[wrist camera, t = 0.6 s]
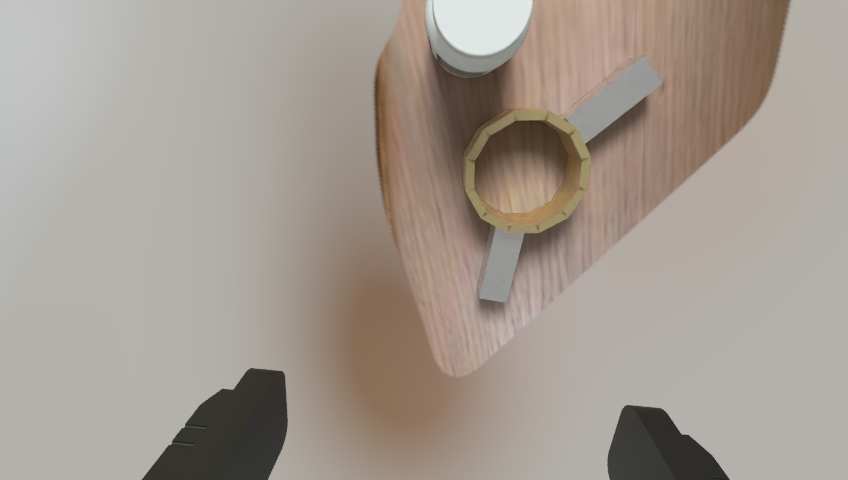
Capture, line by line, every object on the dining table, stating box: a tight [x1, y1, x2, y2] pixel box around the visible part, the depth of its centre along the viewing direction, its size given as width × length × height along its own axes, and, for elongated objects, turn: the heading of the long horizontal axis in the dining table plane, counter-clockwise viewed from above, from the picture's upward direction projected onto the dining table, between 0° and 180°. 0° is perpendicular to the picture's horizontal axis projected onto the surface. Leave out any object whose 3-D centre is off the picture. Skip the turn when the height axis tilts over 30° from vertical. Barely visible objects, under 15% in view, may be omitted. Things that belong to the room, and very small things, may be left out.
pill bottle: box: [425, 0, 533, 78], centre depth 23 cm, size 6×6×10 cm
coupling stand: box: [463, 55, 663, 303], centre depth 29 cm, size 20×9×3 cm, turn 151°
